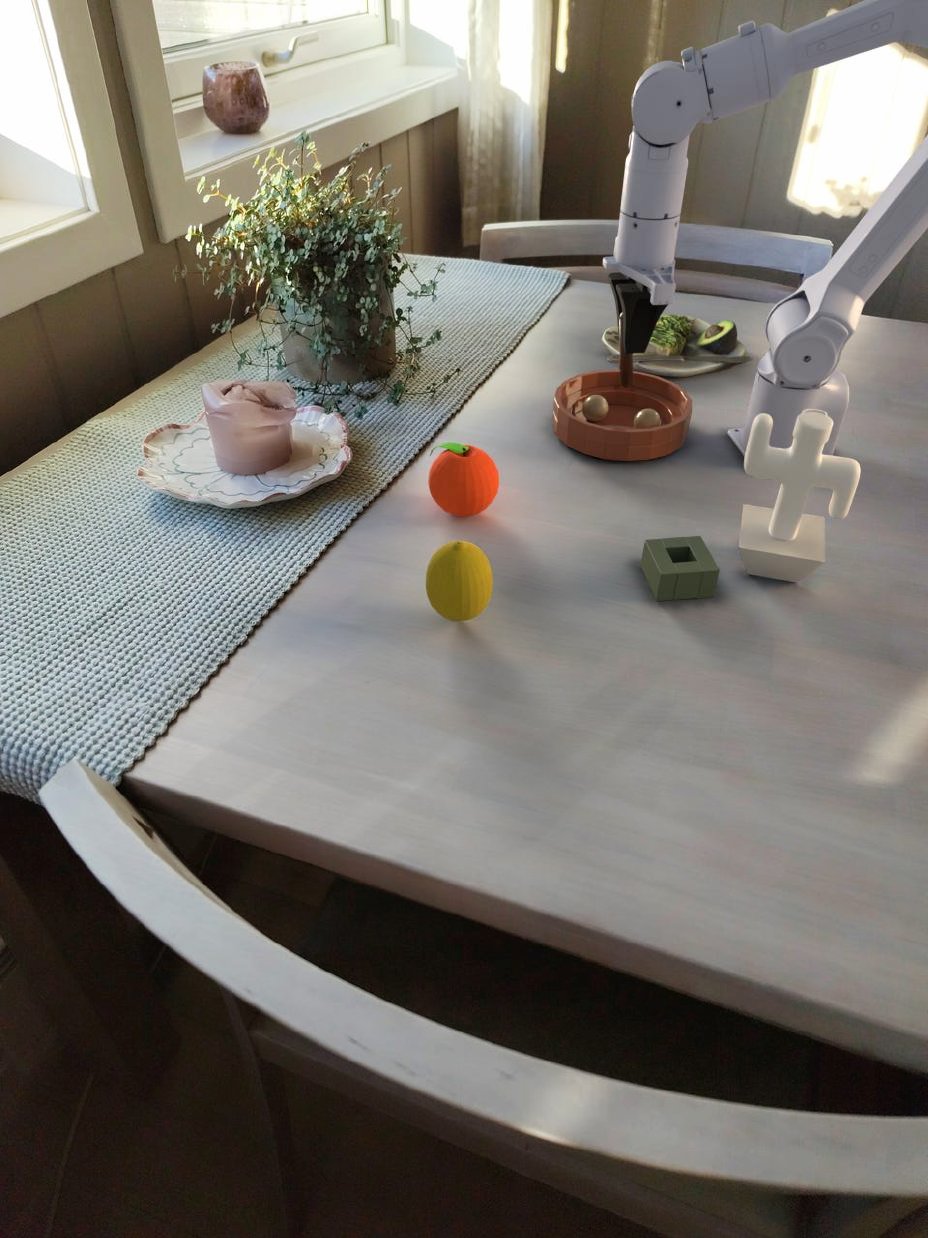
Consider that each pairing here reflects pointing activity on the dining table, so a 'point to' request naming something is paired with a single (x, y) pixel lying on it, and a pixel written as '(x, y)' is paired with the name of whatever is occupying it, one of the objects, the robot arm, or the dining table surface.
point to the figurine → (793, 498)
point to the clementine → (463, 479)
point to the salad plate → (683, 347)
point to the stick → (625, 360)
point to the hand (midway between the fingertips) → (632, 348)
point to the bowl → (622, 416)
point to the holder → (679, 568)
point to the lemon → (459, 581)
